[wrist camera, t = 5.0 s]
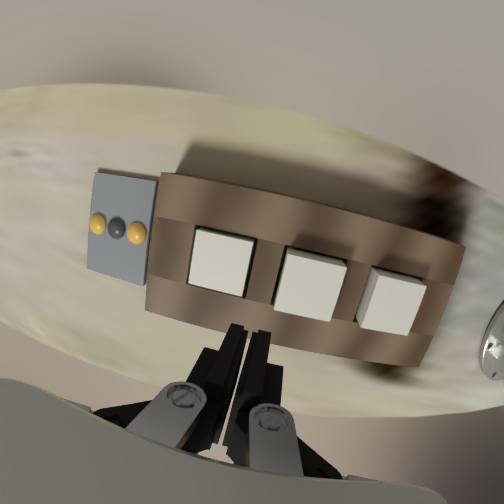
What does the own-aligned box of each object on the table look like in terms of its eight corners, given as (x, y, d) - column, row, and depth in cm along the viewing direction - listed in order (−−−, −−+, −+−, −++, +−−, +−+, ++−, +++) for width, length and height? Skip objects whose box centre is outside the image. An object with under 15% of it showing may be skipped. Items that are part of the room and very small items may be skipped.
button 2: (256, 237, 24) (253, 242, 22) (245, 286, 25) (241, 296, 23) (204, 225, 24) (196, 229, 22) (196, 274, 26) (188, 283, 23)
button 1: (416, 277, 22) (426, 286, 20) (399, 324, 23) (407, 335, 21) (371, 266, 23) (379, 275, 20) (355, 315, 24) (360, 327, 22)
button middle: (341, 259, 23) (347, 267, 21) (326, 310, 24) (329, 321, 22) (287, 247, 23) (287, 254, 21) (274, 298, 24) (273, 309, 22)
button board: (449, 240, 23) (465, 246, 20) (408, 351, 26) (418, 367, 23) (174, 173, 25) (161, 172, 22) (157, 297, 28) (144, 310, 25)
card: (157, 181, 25) (154, 181, 25) (145, 284, 28) (142, 286, 27) (97, 172, 26) (93, 172, 25) (89, 267, 28) (86, 268, 28)
